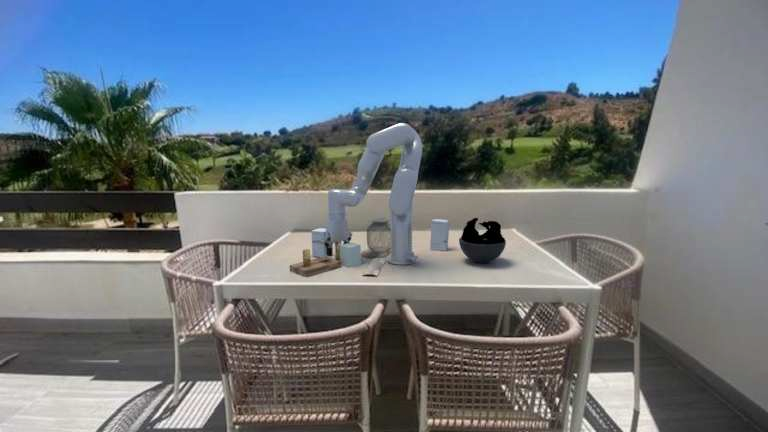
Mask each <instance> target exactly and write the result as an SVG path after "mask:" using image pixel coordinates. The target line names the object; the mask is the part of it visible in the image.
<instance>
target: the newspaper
mask: <svg viewBox="0 0 768 432" xmlns="http://www.w3.org/2000/svg"><path fill="white" fill-rule="evenodd" d="M386 260H387V259H385V258H381V257H375V258H372V260H370V263H369V264H368V266H367V267H366V268H365V271H364V272H363V273H362V277H365V276H366V275H367V276H368V275H373V276H375V277H376V278H378V276H379V274H380V273H381V270H382V268H383V266H384V264H385V263H386Z"/></svg>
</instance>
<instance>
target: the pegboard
mask: <svg viewBox="0 0 768 432" xmlns="http://www.w3.org/2000/svg"><path fill="white" fill-rule="evenodd" d="M342 267H343V265H342V262H341V261H340V260H339V261H338V260H335V258H332V257H331V258H330V257H317V258H314V259H311V249H308V248H306V249H302V261H300V262H297V263H294V264H289V272H292V273H294V274H297V275H300V276H303V277H306V278H309V277H311V276H315V275H318V274H322V273H326V272H328V271H329V272H330V271H332V270H336V269H340V268H342Z"/></svg>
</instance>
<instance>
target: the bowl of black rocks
mask: <svg viewBox="0 0 768 432" xmlns="http://www.w3.org/2000/svg"><path fill="white" fill-rule="evenodd" d="M478 221H479V218H478V217H474V218H472V219H470V220H468V221H467V222H466V225H465V226H464V228H463V229H462V230H463V231H462V235H461V237H460V238H459V239H458V244H459V247H460V249H461V251H462V253H463V254H464V255H465V256H466V257H467V258H468V259H469V260H471V261H474V262H476V263H481V264H483V263H490V262H493V261H494V260H497V258H499V257H500V256H501V255H502V253H503V251H505V250H504V249H505V248H506V245H507V241H506V238H505V237H504V236H503V235H502V230H501V229H502V225H501V224H500V223H499V222H498V221H495V220H488V221H483V222H479V223H478V224H479V225H480V226H482V227H484V228H485V229H486V230H485V232H484V233H482V234H480V233H479V231H478V230H477V229H476V223H477V222H478Z"/></svg>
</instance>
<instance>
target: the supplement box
mask: <svg viewBox="0 0 768 432" xmlns="http://www.w3.org/2000/svg"><path fill="white" fill-rule="evenodd" d="M325 235H326V228H324V227H323V228H322V227H319V228H315V229H311V256H312V257H317V258H321V257H327V258H330V256H328V255H327V251H326V247H325V245H324V244H323V242H322V240H321V239H322V238H323V237H324V236H325ZM326 242H327V241H326ZM329 244H330V243H329ZM331 248H332V256H333V255H334V251H333V250H334V243H333V244H332V246H331Z"/></svg>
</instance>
